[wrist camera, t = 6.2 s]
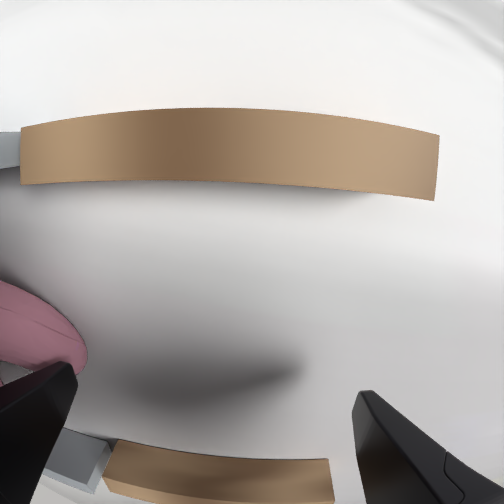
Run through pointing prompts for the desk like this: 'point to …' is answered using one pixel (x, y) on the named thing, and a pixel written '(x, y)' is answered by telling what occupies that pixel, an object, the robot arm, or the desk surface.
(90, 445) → the grey u-shaped frame
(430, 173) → the pair of wooden bars
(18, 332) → the video game controller
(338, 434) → the desk surface
